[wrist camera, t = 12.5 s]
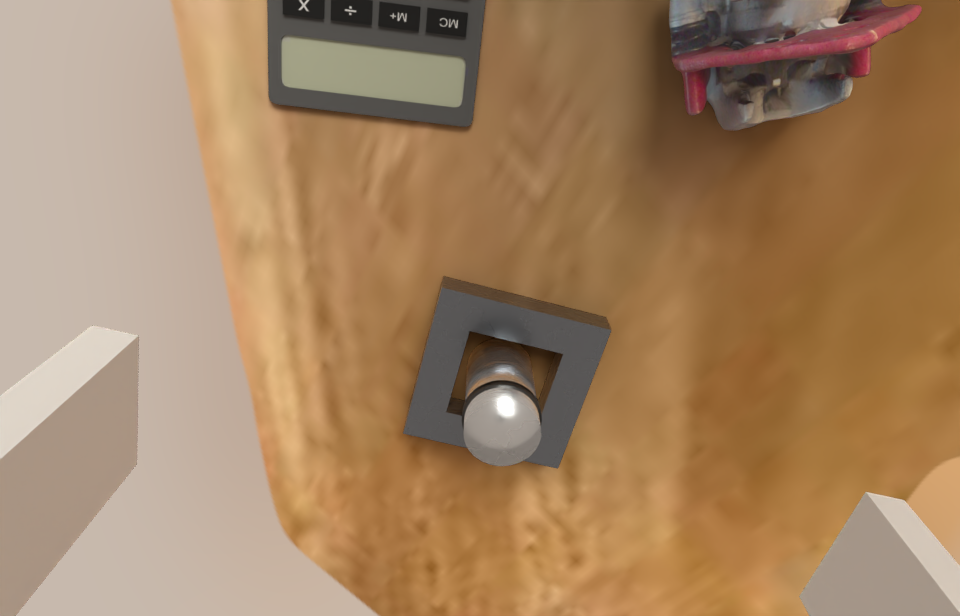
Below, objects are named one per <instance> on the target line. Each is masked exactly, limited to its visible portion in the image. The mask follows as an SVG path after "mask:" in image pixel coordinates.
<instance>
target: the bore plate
mask: <svg viewBox="0 0 960 616" xmlns="http://www.w3.org/2000/svg"><path fill="white" fill-rule="evenodd" d="M470 331H472V332H476V333H480V334H484V335H488V336H492V337H496V338H500V339H504V340H508V341H512V342H516V343H520V344H525V345H529V346H533V347H537V348H541V349H545V350H549V351H553V352H556V353H555V355H554V358H553V361H552V364H551V367H550V369H549V372H548V375H547V378H546V381H545V384H544V386H543V389H542V392H541V395H540V398H539V400H538V402H539V405H540V409H541V415H542V423H541V439H540V443H539V445H538V447H537V449H536V450H535V451H534V453H533V454H532V455H531V456H530V457H528V458H527V459H525V460H524V461H527V462H531V463H536V464H540V465H544V466H549V467H553V468H558V467H559V464H560V462H561V459H562V457H563V454H564V451H565V449H566V446H567V444H568V441H569V438H570V436H571V433H572V431H573V428H574V426H575V423H576V420H577V418H578V415H579V413H580V410H581V408H582V405H583V402H584V400H585V397H586V395H587V392H588V389H589V387H590V384H591V382H592V379H593V377H594V374H595V371H596V369H597V366H598V364H599V361H600V358H601V356H602V353H603V351H604V348H605V346H606V343H607V340H608V338H609V335H610V333H611V328H610V326H609V323H608V321H607V319H606V317H603V316H599V315H595V314H591V313H587V312H583V311H579V310H575V309H571V308H567V307H563V306H559V305H555V304H551V303H547V302H544V301H540V300H536V299H532V298H528V297H524V296H520V295H516V294H512V293H508V292H504V291H500V290H496V289H492V288H488V287H484V286H480V285H476V284H473V283H469V282H465V281H461V280H457V279H453V278H449V277H445V276H444V277H443V280H442V284H441V288H440V292H439V296H438V299H437V303H436V307H435V311H434V315H433V318H432V322H431V326H430V330H429V334H428V337H427V341H426V345H425V349H424V353H423V356H422V360H421V364H420V368H419V372H418V375H417V379H416V383H415V387H414V391H413V394H412V398H411V402H410V406H409V410H408V413H407V417H406V422H405V427H404V432H403V434H408V435H412V436H417V437H421V438H425V439H430V440H434V441H439V442H443V443H447V444H452V445H456V446H461V447H465V448H467V446H466V444H465V441H464V434H463V433H464V430H463V427H462V409H463V405H464V403H465V401H464V400H460V399H456V398H451V394H452V390H453V387H454V383H455V380H456V376H457V373H458V369H459V366H460V363H461V359H462V356H463V352H464V349H465V345H466V342H467V339H468V335H469V332H470Z"/></svg>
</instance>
